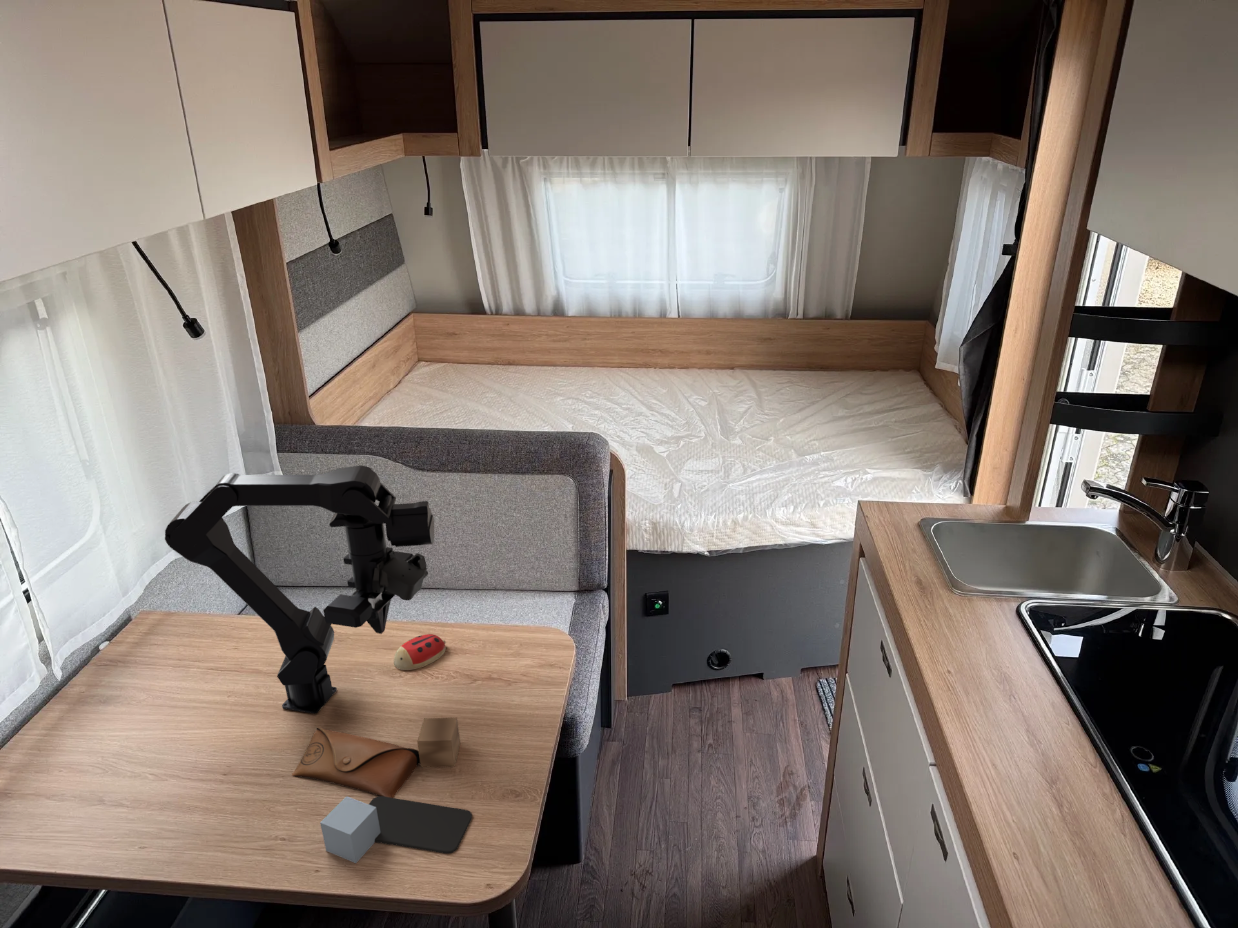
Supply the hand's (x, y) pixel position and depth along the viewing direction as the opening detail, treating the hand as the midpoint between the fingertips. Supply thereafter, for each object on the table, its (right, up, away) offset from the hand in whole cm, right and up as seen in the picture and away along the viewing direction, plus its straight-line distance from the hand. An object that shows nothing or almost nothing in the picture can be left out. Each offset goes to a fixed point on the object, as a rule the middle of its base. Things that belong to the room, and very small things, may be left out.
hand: (380, 632), depth 137 cm
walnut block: (+12, -17, -9) cm, 22 cm away
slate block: (+3, -23, -24) cm, 34 cm away
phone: (+11, -22, -21) cm, 33 cm away
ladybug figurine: (+3, -8, +14) cm, 16 cm away
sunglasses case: (0, -19, -11) cm, 22 cm away
